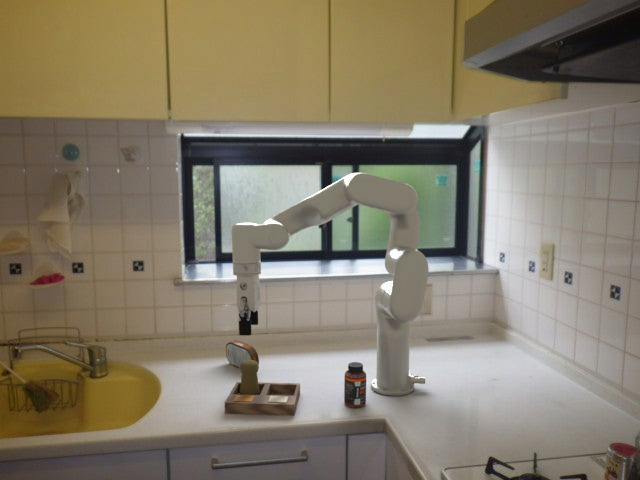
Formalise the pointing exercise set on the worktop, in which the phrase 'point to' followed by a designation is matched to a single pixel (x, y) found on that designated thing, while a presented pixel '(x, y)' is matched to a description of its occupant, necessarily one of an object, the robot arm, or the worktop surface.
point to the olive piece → (249, 378)
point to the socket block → (264, 400)
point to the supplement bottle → (355, 385)
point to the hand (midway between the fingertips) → (249, 329)
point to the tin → (240, 353)
